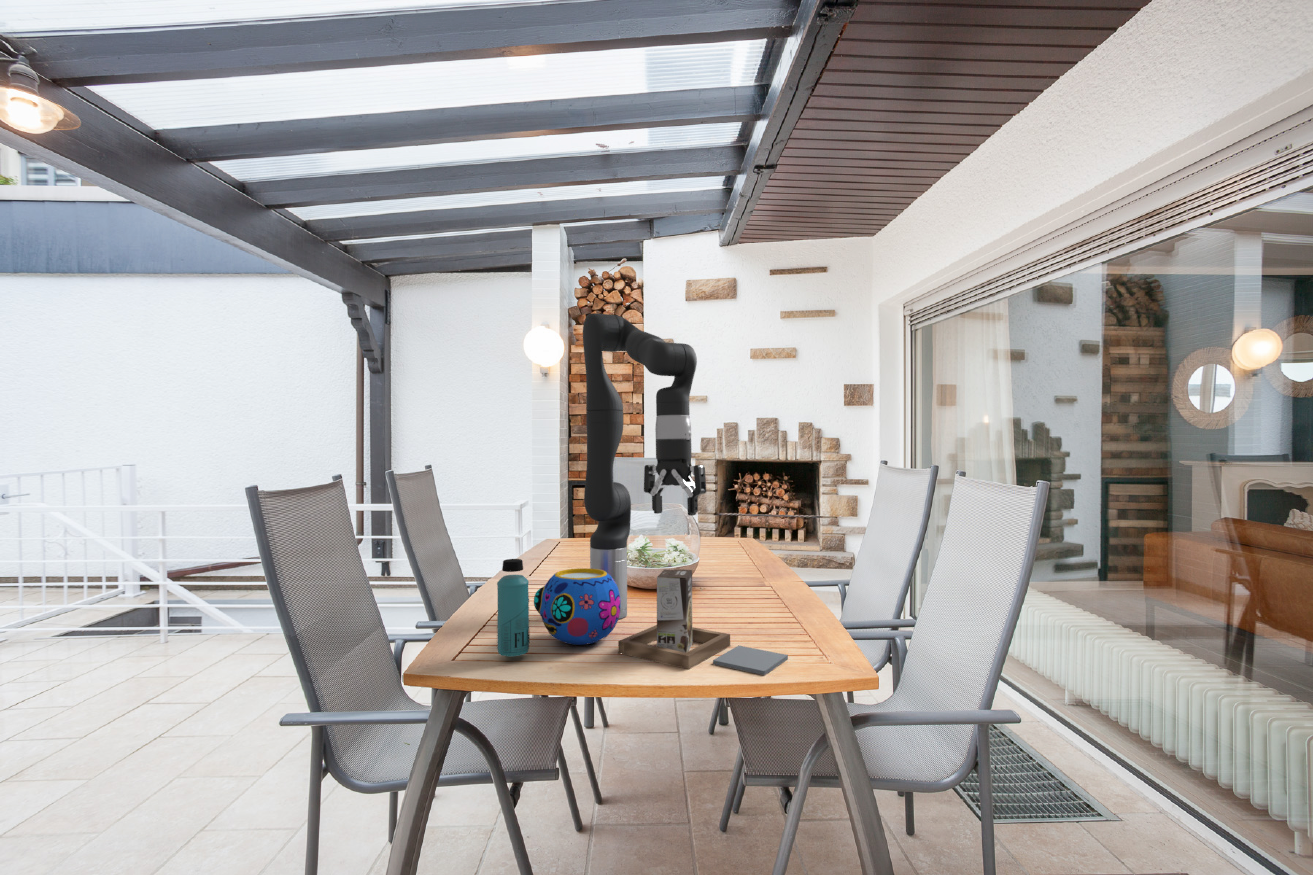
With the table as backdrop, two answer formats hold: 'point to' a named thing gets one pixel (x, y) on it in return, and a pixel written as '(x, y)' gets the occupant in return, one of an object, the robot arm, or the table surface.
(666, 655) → the board
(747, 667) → the slate mat
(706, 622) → the table surface
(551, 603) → the ceramic pot
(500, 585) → the beverage bottle
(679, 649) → the coffee box
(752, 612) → the table surface
